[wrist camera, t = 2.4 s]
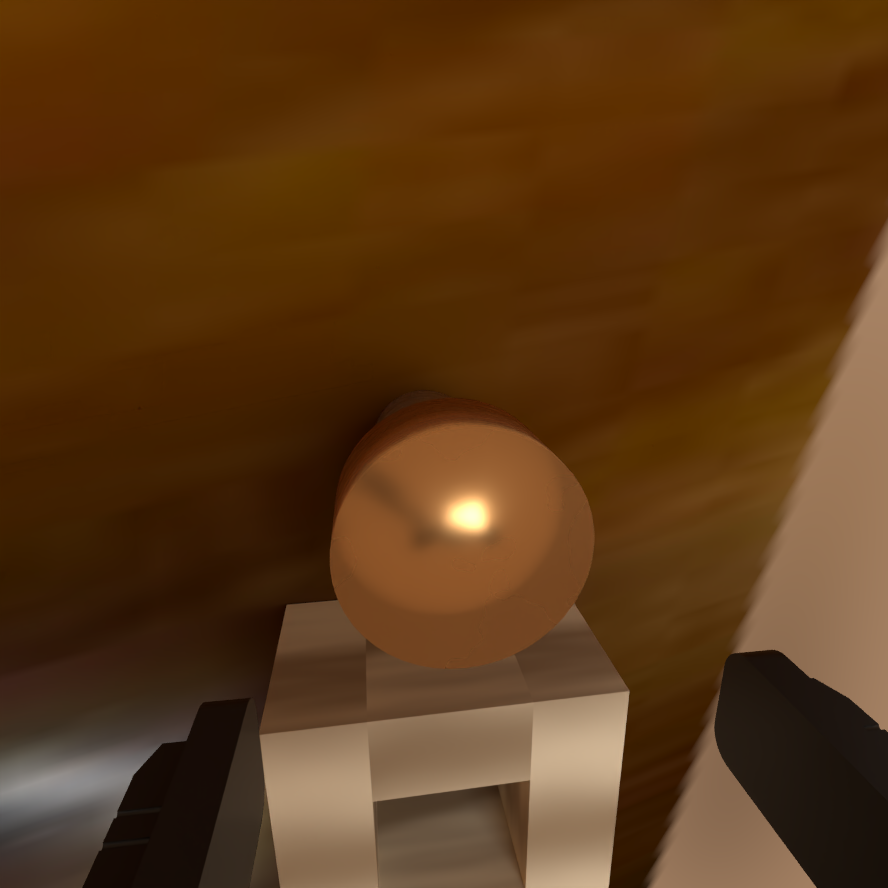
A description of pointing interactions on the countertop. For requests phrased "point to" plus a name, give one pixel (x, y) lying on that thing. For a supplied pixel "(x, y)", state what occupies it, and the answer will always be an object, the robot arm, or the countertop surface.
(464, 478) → the copper pin
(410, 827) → the birch block
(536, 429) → the countertop surface
